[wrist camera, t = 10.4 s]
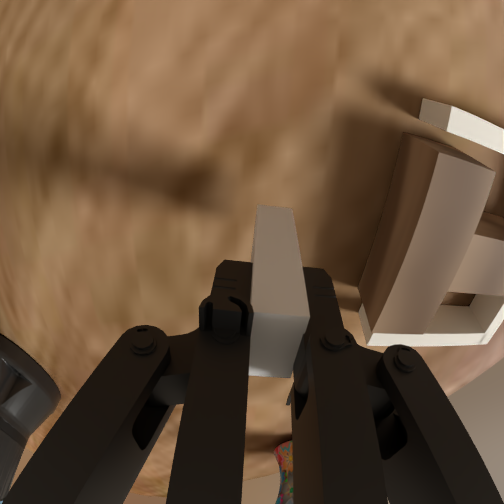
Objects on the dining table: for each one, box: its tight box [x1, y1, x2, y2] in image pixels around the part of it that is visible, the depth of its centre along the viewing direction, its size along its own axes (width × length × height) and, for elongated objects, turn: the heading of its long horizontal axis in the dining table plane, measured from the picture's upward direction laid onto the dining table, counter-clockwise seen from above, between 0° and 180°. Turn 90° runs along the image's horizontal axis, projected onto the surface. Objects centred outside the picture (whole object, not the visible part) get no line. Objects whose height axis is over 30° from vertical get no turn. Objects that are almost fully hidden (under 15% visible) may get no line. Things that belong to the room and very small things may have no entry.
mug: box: [274, 440, 293, 504], centre depth 29 cm, size 12×9×11 cm
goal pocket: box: [358, 98, 504, 346], centre depth 15 cm, size 11×14×3 cm
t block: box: [358, 132, 504, 335], centre depth 15 cm, size 10×10×4 cm
